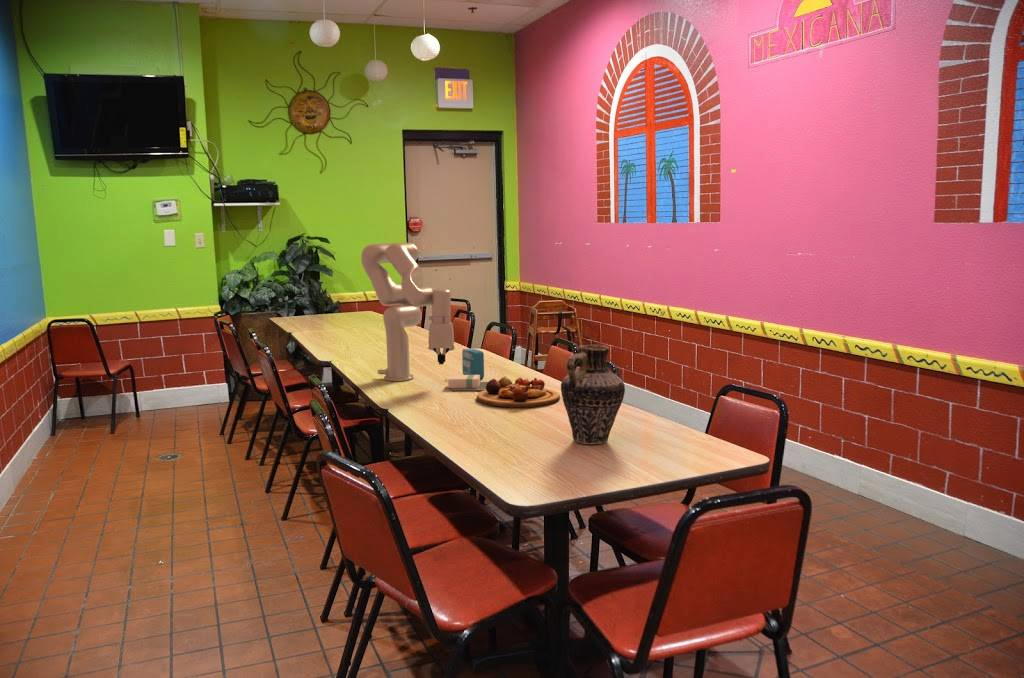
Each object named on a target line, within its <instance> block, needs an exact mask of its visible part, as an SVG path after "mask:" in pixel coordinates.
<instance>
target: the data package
mask: <svg viewBox="0 0 1024 678" xmlns="http://www.w3.org/2000/svg"><path fill="white" fill-rule="evenodd" d="M461 353H462V354H461V357H462V358H461V360H462V362H461V363H462V365H461V366H462V375H480V380H481V378H482V379H483V378H484V377H485V358H484V357H485V354H484V351H483V350H480V349H477V348H473V347H472V348H464V349H462V351H461Z"/></svg>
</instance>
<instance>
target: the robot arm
mask: <svg viewBox="0 0 1024 678" xmlns="http://www.w3.org/2000/svg"><path fill="white" fill-rule="evenodd" d="M360 258H361V259H360V260H361V261H360V262H361V265H362V267H363V270H364V272H365V273H366V275H367V277H368V278H369V281H370V282H371V284H372V288H373V290H374V292H375V295H376V296H377V299H378V301H379V302H380V305H382V306H383V307H384V306H385V307H388V308H387V309H385V311H384V312H383V315H382V317H383V318H382V320H383V325H384V329H385V339H386V361H387V368H385V369H377V373H378V375H385V376H384V377H383V379H384V380H385V381H387V382H406V381H411V380H413V379H414V374H411V372H410V371H411V369H410V365H411V363H410V342H409V341H410V340H409V339H410V338H409V335H408V333H407V331H406V329H405V328H409V327H415V326H418V325H419V324H420V323H421V321H422V319H423V318H422V316H423V315H422V314H423V313H422V310H421V307H429V306H432V308H431V313H432V315H431V316H428V320H429V321H431V322H430V323H429V329H428V339H427V340H428V350H430V351H433V352H434V353H436V355H437V362H438V364H439V365H444V364H445V363H446V354H448V352H450V351H454V350H455V349H456V348H455V345H454V344H455V334H454V325H453V322H452V321H451V320H452V316H451V315H452V314H451V313H452V312H451V311H452V307H451V306H452V304H451V302H452V297H451V296H452V293H451V290H449V289H447V288H445V289H444V288H439V287H435V286H429V287H417V285H415V283H414V282H413V279H414V278H416V276H417V275H418V273H419V271H420V266H419V265H418V263H417V262H416V261H417V260H418V259H419V250H418V248H417V246H416V245H415V244H413V243H412V242H393V243H392V242H391V243H389V242H388V243H372V244H369V245H366V246H365V247H363V249H362V251H361V257H360ZM388 263H389V264H391V265H392V267H393V268H394V270H395V271H396V272H397V274H399V276H400V277H401V280H400V282H394V281H393V279H392V278H391V275H390V273H389V271H388V270H387V269H386V268H385V267H384V266H382V264H388ZM441 349H442V351H441Z"/></svg>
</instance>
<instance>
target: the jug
mask: <svg viewBox="0 0 1024 678" xmlns="http://www.w3.org/2000/svg"><path fill="white" fill-rule="evenodd" d="M578 348H579V351H580V352H579V353H578V354H577V353H574V354H572V355H570V356H569V357H568V359H567V362H566V369H567V370H566V371H567V375H566V376H565V377H564V378H563V379H562V381H561V383H560V391H561V397H562V398H561V399H562V402H563V405H564V408H565V410H566V413H567V417H568V422H569V424H570V428H571V432H572V433H571V436H572V439H573V441H574V442H576V443H579V444H583V445H590V446H591V445H602V444H604V443H607V442H608V439H609V437H610V434H611V431H612V427H613V425H614V423H615V420H616V418H617V415H618V412H619V410H620V408H621V405H622V404H623V401H624V396H625V392H626V388H625V383H624V381H623V379H622V378H621V377H619V375H617V374H615V373H613V372H612V371H611V370H609V369H608V367H607V357H608V355H609V350H610V347H609V346H608V345H604V344H582V345H578ZM576 360H579V361H580V365H579V368H578V369H576V370H575V363H576Z"/></svg>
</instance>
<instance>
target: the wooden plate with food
mask: <svg viewBox="0 0 1024 678" xmlns="http://www.w3.org/2000/svg"><path fill="white" fill-rule="evenodd" d="M514 381H515V382H514V383H513V382H512V380H511V379H510V378H509V377H507V376H506V375H505V376H503V377H501V378H500V379H499V380H497V379H496V378H492V379H490V380H489V381H487V382H488V383H487V385H486V390H484V391H478V393H477V395H476V400H477V401H478V402H480V403H481V404H483V405H484V404H485V405H489V406H493V407H499V408H535V407H537V408H538V407H545V406H549V405H552V404H555V403H557V402H559V401H560V399H561V395H560V393H558V391H555V390H552V389H548V388H545V385H546V384H545V381H544V380H543V379H540V378H539V379H538V378H537V377H534V378H533V380H531V381H530V380H529V379H528V378H527V379H523V378H522V377H518V378H516V379H515V380H514Z"/></svg>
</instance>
